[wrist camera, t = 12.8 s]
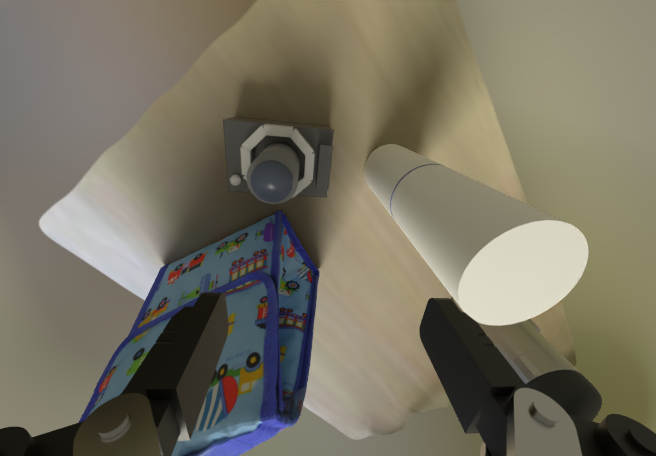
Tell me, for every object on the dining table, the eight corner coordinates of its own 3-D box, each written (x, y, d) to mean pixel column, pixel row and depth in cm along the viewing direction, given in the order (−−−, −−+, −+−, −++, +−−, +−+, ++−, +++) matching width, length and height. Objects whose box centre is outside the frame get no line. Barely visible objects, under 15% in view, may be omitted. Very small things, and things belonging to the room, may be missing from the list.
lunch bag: (280, 206, 37) (228, 435, 12) (320, 271, 43) (343, 520, 18) (160, 263, 40) (-97, 553, 14) (213, 318, 46) (98, 592, 20)
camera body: (329, 126, 33) (334, 131, 27) (324, 185, 36) (327, 201, 31) (234, 117, 32) (218, 120, 26) (238, 179, 35) (224, 195, 29)
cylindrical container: (392, 132, 34) (559, 190, 12) (422, 169, 37) (605, 274, 14) (353, 170, 36) (433, 283, 14) (384, 202, 38) (494, 342, 16)
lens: (300, 142, 29) (298, 157, 21) (299, 181, 31) (297, 207, 23) (259, 140, 28) (243, 154, 21) (261, 179, 30) (246, 205, 23)
